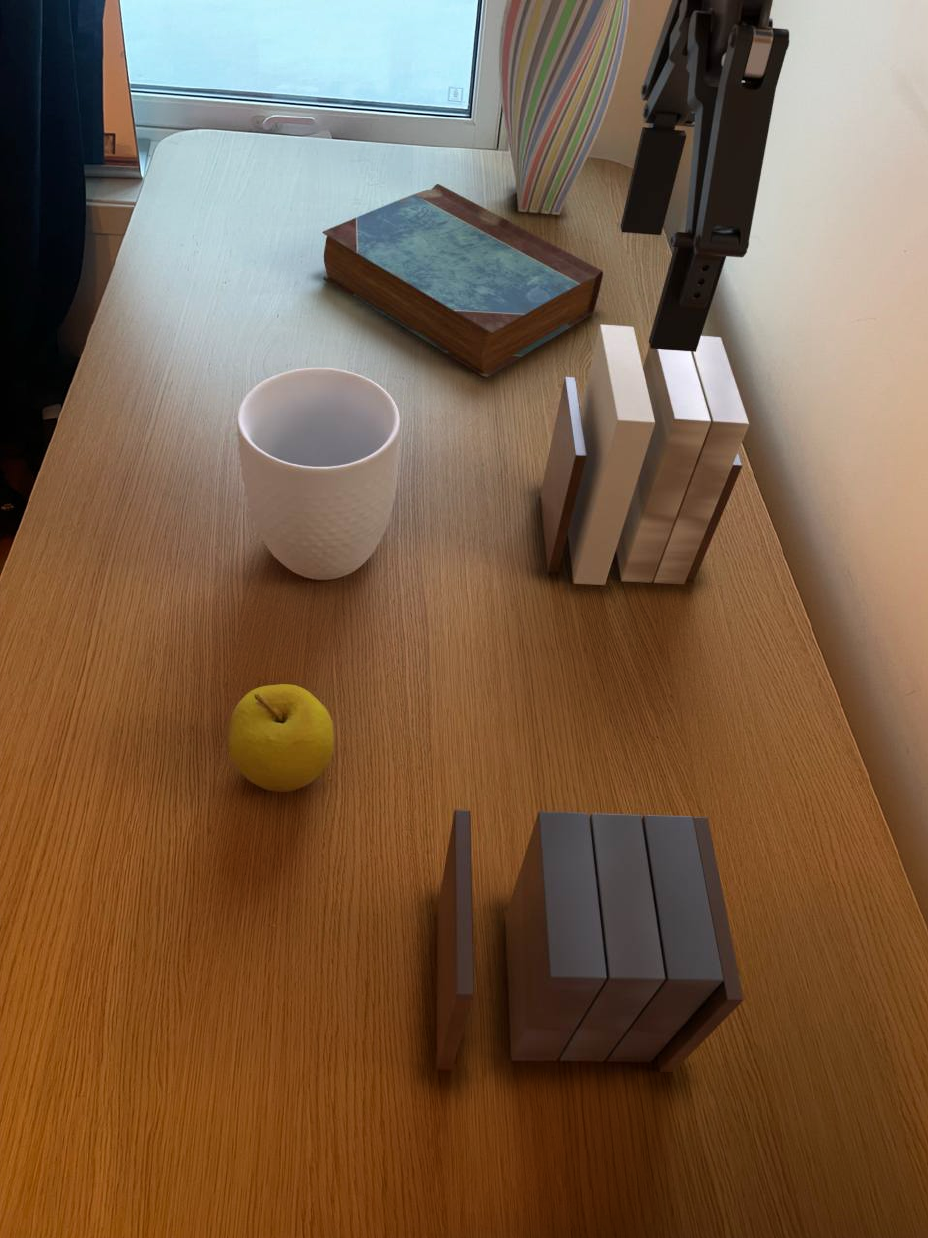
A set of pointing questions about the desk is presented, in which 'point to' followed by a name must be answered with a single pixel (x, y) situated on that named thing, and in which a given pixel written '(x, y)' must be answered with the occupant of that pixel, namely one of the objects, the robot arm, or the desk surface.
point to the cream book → (609, 451)
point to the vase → (556, 89)
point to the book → (461, 277)
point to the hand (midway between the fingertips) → (655, 285)
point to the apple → (280, 737)
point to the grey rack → (597, 940)
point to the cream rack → (660, 466)
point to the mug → (319, 467)
